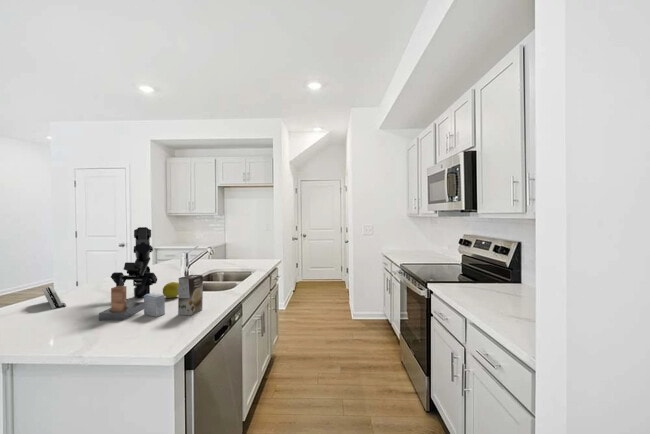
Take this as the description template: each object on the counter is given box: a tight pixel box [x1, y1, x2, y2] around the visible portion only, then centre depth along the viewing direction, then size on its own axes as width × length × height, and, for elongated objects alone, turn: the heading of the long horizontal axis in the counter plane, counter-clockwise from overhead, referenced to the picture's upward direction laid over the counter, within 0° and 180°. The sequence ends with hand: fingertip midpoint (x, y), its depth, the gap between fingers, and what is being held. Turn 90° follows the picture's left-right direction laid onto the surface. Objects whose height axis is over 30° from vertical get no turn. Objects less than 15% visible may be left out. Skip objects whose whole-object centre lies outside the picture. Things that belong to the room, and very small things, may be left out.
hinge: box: [42, 285, 67, 310], centre depth 151 cm, size 17×5×10 cm, turn 46°
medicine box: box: [143, 292, 166, 318], centre depth 138 cm, size 8×4×9 cm, turn 65°
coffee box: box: [177, 274, 204, 316], centre depth 142 cm, size 9×6×16 cm
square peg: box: [110, 285, 127, 311], centre depth 135 cm, size 4×4×12 cm
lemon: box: [162, 281, 179, 299], centre depth 166 cm, size 11×8×8 cm
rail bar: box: [98, 301, 144, 321], centre depth 138 cm, size 16×10×3 cm, turn 3°
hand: (127, 294), depth 142 cm, fingers open, 9 cm apart
